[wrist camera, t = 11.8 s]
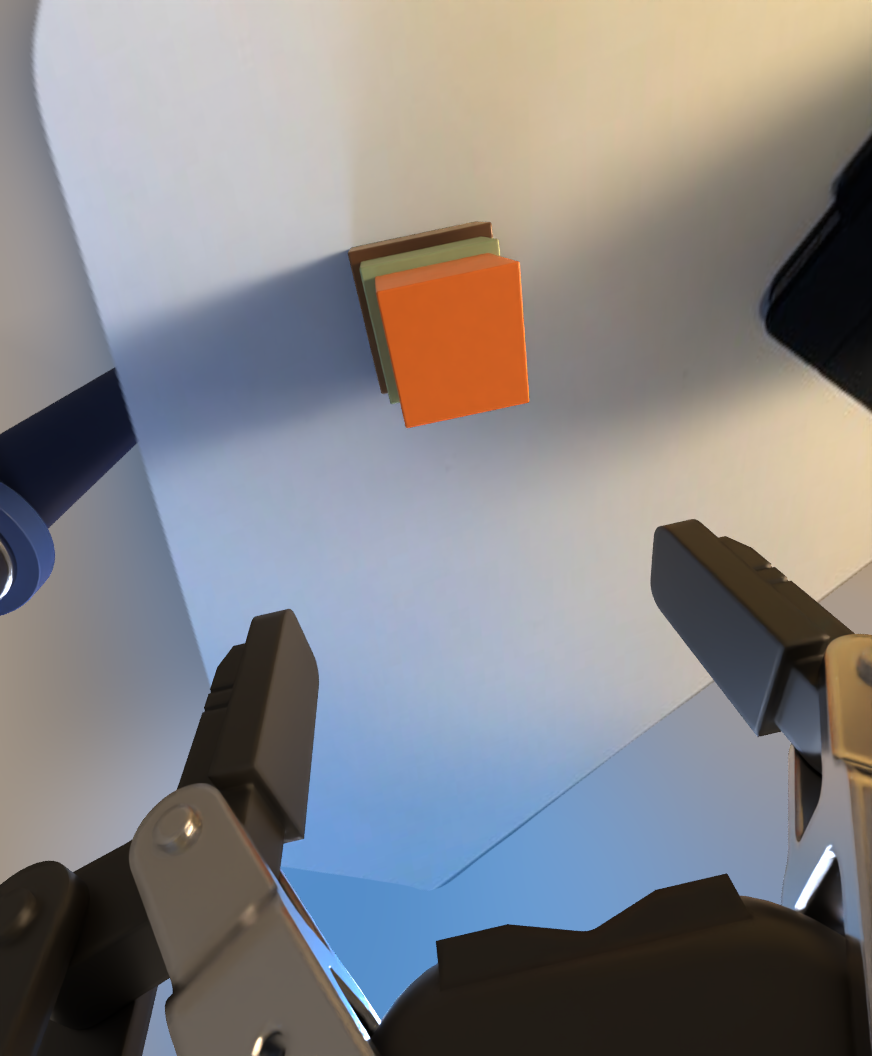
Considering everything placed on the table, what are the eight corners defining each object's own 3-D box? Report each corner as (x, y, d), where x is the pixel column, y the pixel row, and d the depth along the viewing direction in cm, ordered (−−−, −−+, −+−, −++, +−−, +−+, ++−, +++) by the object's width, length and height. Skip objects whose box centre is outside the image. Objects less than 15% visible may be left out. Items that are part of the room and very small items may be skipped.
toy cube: (399, 391, 23) (406, 429, 19) (374, 276, 21) (375, 291, 16) (501, 369, 23) (530, 403, 19) (489, 252, 21) (519, 261, 16)
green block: (388, 384, 27) (390, 404, 24) (360, 261, 23) (359, 268, 20) (495, 361, 27) (511, 379, 24) (482, 235, 23) (498, 238, 20)
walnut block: (380, 375, 30) (381, 395, 27) (350, 247, 26) (347, 252, 23) (490, 352, 30) (505, 369, 27) (476, 221, 26) (491, 221, 23)
